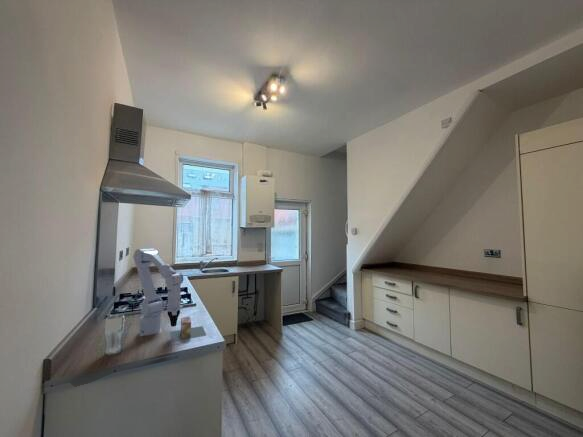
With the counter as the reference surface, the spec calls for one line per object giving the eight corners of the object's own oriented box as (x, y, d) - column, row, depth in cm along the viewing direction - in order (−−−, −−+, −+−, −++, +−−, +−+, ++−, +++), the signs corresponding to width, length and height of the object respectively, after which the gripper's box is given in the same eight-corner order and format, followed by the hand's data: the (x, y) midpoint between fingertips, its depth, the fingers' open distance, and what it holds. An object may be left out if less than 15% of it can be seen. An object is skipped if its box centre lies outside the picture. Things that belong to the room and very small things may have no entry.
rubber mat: (170, 343, 114) (170, 342, 114) (169, 332, 126) (169, 331, 126) (206, 336, 121) (206, 335, 122) (202, 326, 134) (202, 326, 134)
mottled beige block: (182, 338, 119) (182, 323, 119) (180, 331, 127) (181, 317, 127) (190, 336, 120) (191, 321, 121) (189, 330, 128) (189, 316, 129)
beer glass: (108, 357, 102) (109, 320, 102) (101, 352, 105) (102, 317, 106) (127, 350, 107) (128, 315, 108) (119, 346, 111) (120, 312, 112)
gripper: (183, 300, 117) (183, 329, 117) (181, 294, 130) (181, 320, 129) (167, 302, 114) (166, 332, 113) (167, 295, 127) (166, 322, 126)
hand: (173, 326), depth 121 cm, fingers closed
